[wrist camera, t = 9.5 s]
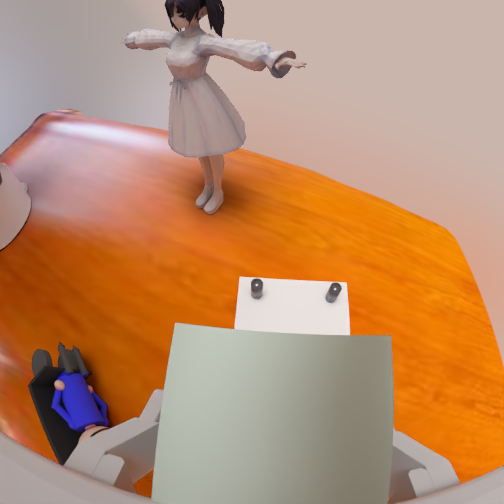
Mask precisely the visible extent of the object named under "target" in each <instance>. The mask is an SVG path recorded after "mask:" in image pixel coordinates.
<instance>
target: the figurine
mask: <svg viewBox="0 0 504 504" xmlns="http://www.w3.org/2000/svg"><path fill="white" fill-rule="evenodd" d="M165 7H166V10H167V14H168V17H169V18H170V22H171V25H172V27H173V26H174V28H175V29H176V30H177V31H178V32H176V33H172V32H164V31H158V30H152V29H146V30H142V31H141V32H140V31H132V32H130V33H129V34H127V36H126V37H124V38H123V39H125V41H123V42H121V43H125V45H126V46H127V47H128V48H130V49H137V48H141V49H145V50H153V49H156V48H160V47H169V49H170V50H169V52H168V53H167V57H166V63H167V65H168V68H169V69H170V71H171V73H172V75H173V76H174V79H173V82H170V85H172V84H173V85H172V91H171V98H170V107H169V138H168V143H169V145H170V147H171V149H172V150H174V151H175V152H176V153H178V154H180V155H183V156H185V157H194V158H199V160H200V163H201V166H202V169H203V174H204V180H205V187H204V190H203V192H202V193H201V195H200V196H199V197H198V198H197V200H196V205H197V206H198V208H199V209H200V208H203V209H204V210H205V213H207V214H210V215H211V214H213V213H215V212H216V211H217V210H218V208H219V207H220V206H221V204H222V203H223V194H224V193H223V191H222V188H221V182H222V175H223V168H224V159H223V156H222V154H226V153H229V152H232V151H234V150H237V149H238V148H239V147H240V146H241V145H243V143H244V141H245V138H246V134H245V130H244V121H243V120H242V118H241V116H240V115H239V113H238V111H237V110H236V109H235V107H234V106H233V105H232V103H231V102H230V100H229V99H228V98H227V96H226V95H225V94H224V92H223V91H222V90H221V89H220V87H219V86H218V85H217V84H216V83H215V82H214V80H212V78H211V77H210V76H209V75H208V74H207V73H206V66H207V63H208V61H209V58H210V56H211V55H217V56H221V57H224V58H228V59H231V60H234V61H235V62H237V63H239V64H240V65H242V66H244V67H246V68H248V69H251V70H253V71H262V70H263V69H264V68H265V67H266V66H267V67H268V69H269V70H270V72H271V74H272V75H273V76H274V77H276V78H282V77H283V76H284V75H286V74H287V73H288V71H289V70H290V68H291V67H292V66H294V67H296V68H300V67H305V66H304V65H306V63H304V62H301V61H298V60H295V58H296V56H295V53H294V52H293V51H273V49H272V48H271V47H270V46H269V44H267V43H265V42H262V41H252V40H240V39H228V38H222V28H223V24H224V7H223V5H222V1H221V0H166V3H165ZM220 7H221V8H220ZM221 10H222V11H221ZM207 14H208V19H209V23H210V28H211V29H212V26H213V28H214V30H215V32H216V33H217V34H218V35H219V36H221V38H218V37H214V36H212V35H210V34H207V33H205V32H204V31H203V30H202V29H201V28H200V26H199V20H200V19H201V18H202V17H204V16H205V15H207ZM183 27H185V31H181V28H183ZM178 29H180V31H179V30H178ZM212 173H213V179H212ZM213 181H214V182H213Z"/></svg>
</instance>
